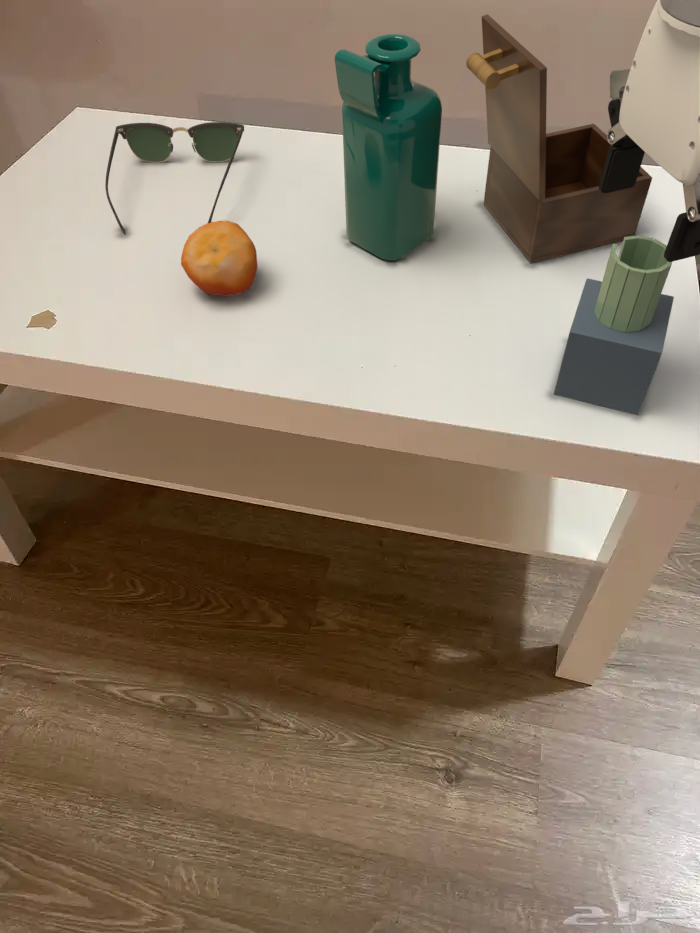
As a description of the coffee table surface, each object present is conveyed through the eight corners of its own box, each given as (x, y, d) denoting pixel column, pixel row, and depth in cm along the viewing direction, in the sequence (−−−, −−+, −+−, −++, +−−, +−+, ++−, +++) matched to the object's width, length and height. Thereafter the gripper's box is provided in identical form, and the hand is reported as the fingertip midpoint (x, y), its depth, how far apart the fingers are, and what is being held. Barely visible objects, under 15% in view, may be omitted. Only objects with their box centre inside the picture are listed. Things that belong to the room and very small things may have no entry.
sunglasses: (96, 234, 94) (84, 197, 90) (126, 158, 104) (116, 122, 100) (233, 234, 93) (227, 196, 89) (249, 157, 104) (244, 121, 100)
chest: (580, 182, 98) (594, 123, 92) (634, 237, 91) (652, 177, 85) (483, 204, 96) (490, 145, 90) (530, 263, 88) (541, 203, 82)
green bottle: (387, 206, 96) (390, 13, 79) (440, 234, 92) (455, 38, 75) (331, 242, 92) (320, 47, 74) (384, 273, 88) (386, 74, 71)
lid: (487, 13, 78) (448, 28, 78) (547, 67, 71) (503, 84, 71) (493, 141, 89) (458, 154, 89) (545, 198, 82) (507, 213, 82)
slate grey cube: (650, 359, 78) (674, 296, 72) (638, 415, 74) (662, 352, 68) (570, 341, 80) (586, 277, 74) (553, 394, 76) (569, 331, 69)
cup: (655, 302, 72) (676, 242, 67) (647, 337, 69) (668, 277, 64) (599, 290, 73) (616, 230, 68) (589, 324, 70) (606, 264, 65)
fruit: (268, 243, 89) (254, 211, 82) (262, 310, 88) (247, 284, 81) (199, 240, 90) (179, 208, 82) (192, 306, 89) (171, 281, 81)
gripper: (869, 39, 46) (753, 275, 59) (695, -65, 56) (630, 157, 69) (760, 60, 44) (667, 297, 58) (602, -50, 54) (555, 174, 68)
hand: (647, 221), depth 64 cm, fingers open, 9 cm apart
